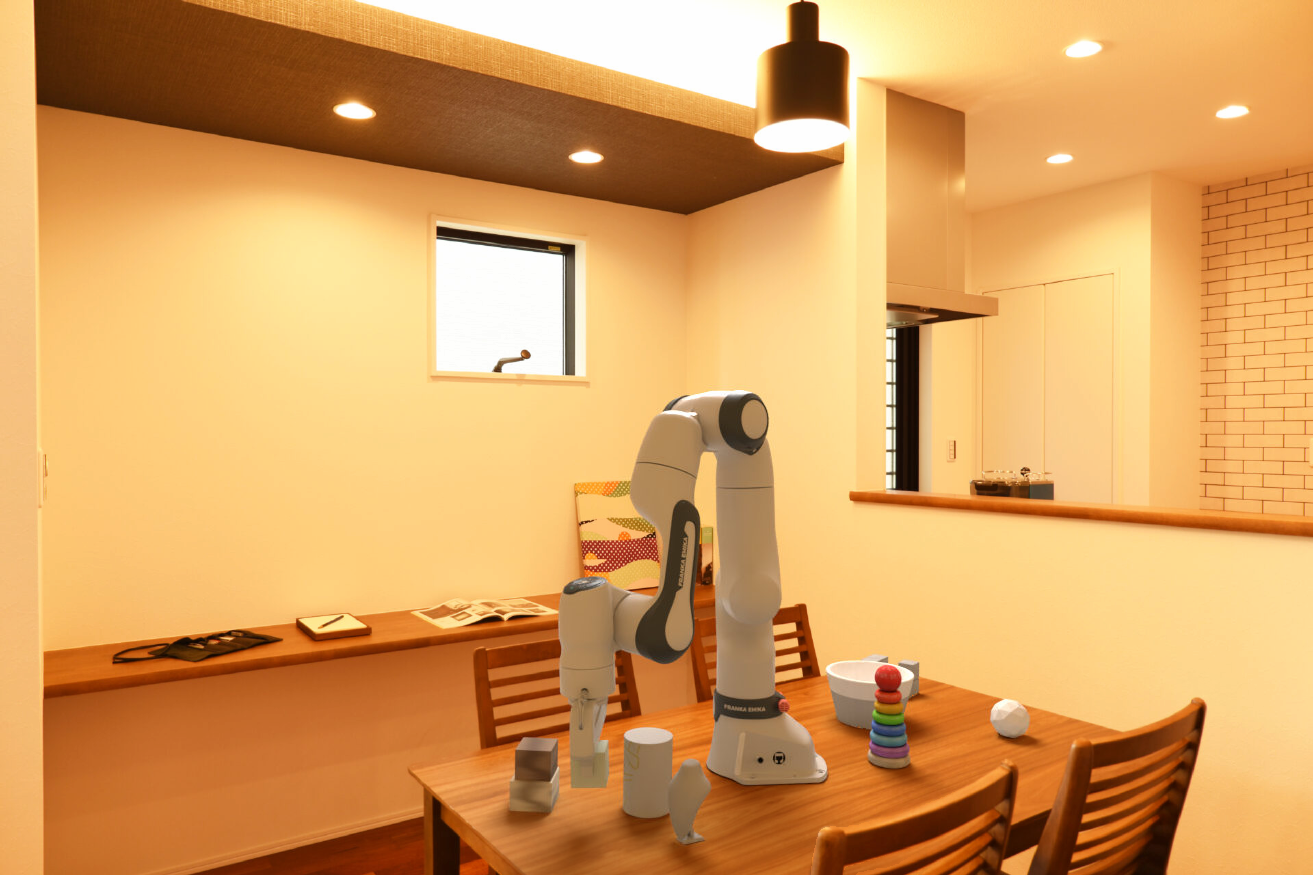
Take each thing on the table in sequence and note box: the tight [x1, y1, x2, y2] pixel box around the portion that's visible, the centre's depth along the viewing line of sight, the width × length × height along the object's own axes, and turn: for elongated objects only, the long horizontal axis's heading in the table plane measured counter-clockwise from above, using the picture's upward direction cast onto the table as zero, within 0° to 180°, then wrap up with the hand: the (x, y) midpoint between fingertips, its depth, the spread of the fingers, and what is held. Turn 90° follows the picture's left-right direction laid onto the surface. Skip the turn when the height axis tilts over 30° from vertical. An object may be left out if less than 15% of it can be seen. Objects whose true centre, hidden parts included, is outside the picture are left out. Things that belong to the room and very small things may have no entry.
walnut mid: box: [514, 736, 559, 782], centre depth 145 cm, size 6×6×5 cm
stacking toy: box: [867, 665, 911, 769], centre depth 166 cm, size 8×8×19 cm
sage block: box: [569, 739, 610, 789], centre depth 137 cm, size 6×6×6 cm
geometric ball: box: [990, 698, 1031, 739], centre depth 182 cm, size 8×8×8 cm
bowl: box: [825, 660, 914, 730], centre depth 192 cm, size 19×19×11 cm
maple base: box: [508, 766, 560, 814], centre depth 145 cm, size 7×7×5 cm
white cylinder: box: [622, 726, 674, 819], centre depth 143 cm, size 8×8×12 cm
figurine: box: [668, 758, 712, 845], centre depth 132 cm, size 8×5×12 cm
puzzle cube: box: [860, 653, 920, 700], centre depth 211 cm, size 12×12×8 cm
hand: (589, 767), depth 137 cm, fingers closed on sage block, 5 cm apart
